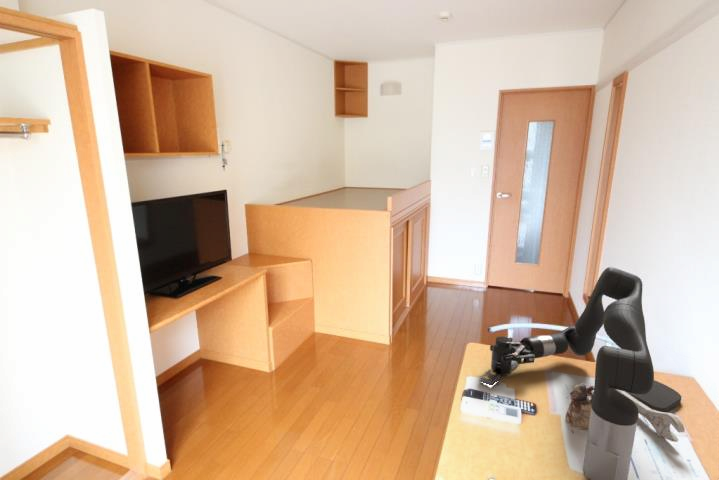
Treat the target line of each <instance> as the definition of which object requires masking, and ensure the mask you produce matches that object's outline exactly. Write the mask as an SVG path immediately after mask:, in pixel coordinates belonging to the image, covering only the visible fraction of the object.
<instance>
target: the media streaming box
mask: <svg viewBox="0 0 719 480" xmlns="http://www.w3.org/2000/svg"><path fill="white" fill-rule="evenodd" d="M626 393H628V394H629V395H631V396H632V397H634V398H635V399H637V400H638V401H640V402H641V403H643V404H644V405H646V406H648V407H649V408H651V409H652V410H656V411H659V412H665V413H670V412H671V411H673V410H674V409H676V408H677V407H678V406H679V405H680V404H681V402H682V396H681V393H679V392H678V391H676V390H675V389H673V388H672V387H670V386H668V385H666V384H664V383H662V382H659V381H658V380H655V379H654V383H653V387H652V389H651V391H650V392H649V393H647V394H643V395H642V394H634V393H630V392H626Z"/></svg>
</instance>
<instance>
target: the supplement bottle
mask: <svg viewBox="0 0 719 480" xmlns="http://www.w3.org/2000/svg"><path fill="white" fill-rule="evenodd" d="M509 338H510V337H506V336H496V338H495V342H494V344H492V345H493V347H492V351H491V361H490V369H491V371H495V372H496V373H498V374H500V376H507V375H509V374H511V372H512V371H511V368H512V361H508V362H503V361H502V355H507V354H514V353H513V350H512V348H511V345H510V339H509Z"/></svg>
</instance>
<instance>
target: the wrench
mask: <svg viewBox="0 0 719 480" xmlns="http://www.w3.org/2000/svg"><path fill="white" fill-rule="evenodd" d="M615 390H616V391H618V392H619V393H621V394H623V395H624V396H626V397H628V398H629V399H630V400H632V401H633V402H634V403H635V404H636V406H637V408H638V411H639V415H641V416H643V417H644V418H645V419H646V420H647V421H648V422H649V423H650V425H651V426H652V427H653V429H654V430H655V432H656V435H657V437H658V436H659V437H663V438H664V439H666V440H668V441H671V442H675V443H677V442H679V438H678V437H677V435H675V433H674V432H673V431H671V426H672V427H673V428H674V429H675V430H676V431H677V433H685V431H686V429H685V426H684V424H683V422H682V421H681V420H680V418H679V417H678V416H677V415H675V414H674V413H672V412H667V413H665V412H659V411H656V410H652V409H651V408H649V407H648V406H646V405H644V404H643V403H641V402H640V401H638V400H637V399H635V398H634V397H632V396H631V395H629V394H628V393H626V392H625V391H621V390H617V389H615Z"/></svg>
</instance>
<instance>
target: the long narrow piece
mask: <svg viewBox="0 0 719 480" xmlns="http://www.w3.org/2000/svg"><path fill="white" fill-rule="evenodd" d="M519 366H520V364H518V362H517V361H516V362H514V361H512V368H511V372H512V371H513V370H515V369H516V368H517V367H519ZM480 381H481V382H483V383H486V384H489V385H493V384H494V383H495V382H497V381H499V382H500V381H501V375H500V374H498V373H496V372H495V371H492V369H491V370H490V369H489V370H487V371H486V372H484V374H482V375H481V376H480V378H479V382H480Z"/></svg>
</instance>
